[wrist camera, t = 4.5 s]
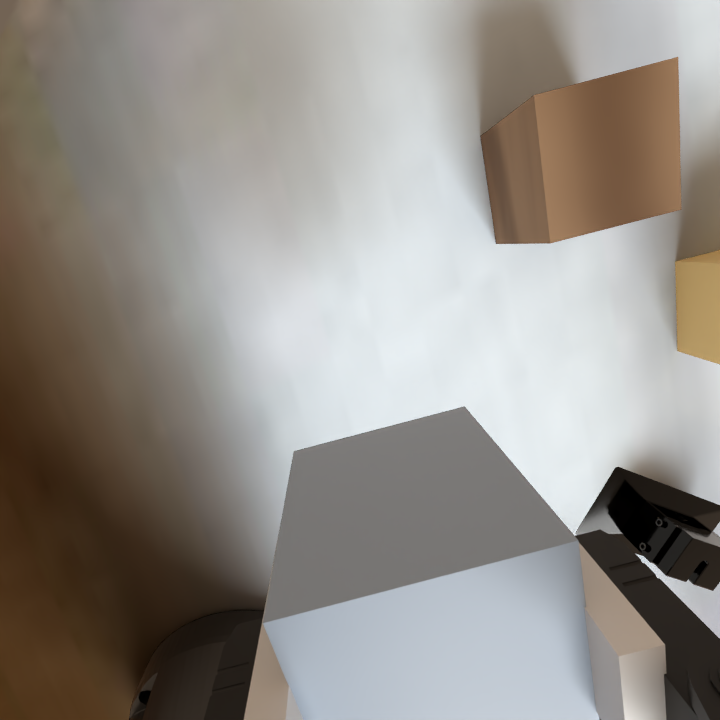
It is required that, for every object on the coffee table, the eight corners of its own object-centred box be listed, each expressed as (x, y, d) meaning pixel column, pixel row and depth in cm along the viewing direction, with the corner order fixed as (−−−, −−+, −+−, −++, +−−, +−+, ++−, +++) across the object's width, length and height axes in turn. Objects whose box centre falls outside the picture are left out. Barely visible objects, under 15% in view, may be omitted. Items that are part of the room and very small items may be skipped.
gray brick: (339, 588, 14) (345, 823, 8) (293, 451, 13) (262, 623, 7) (491, 547, 14) (603, 755, 8) (464, 406, 13) (578, 540, 7)
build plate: (548, 530, 28) (586, 582, 24) (601, 443, 27) (652, 482, 22) (689, 577, 30) (749, 633, 26) (747, 498, 29) (822, 544, 24)
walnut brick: (495, 243, 22) (550, 243, 17) (479, 136, 21) (534, 95, 15) (592, 218, 22) (681, 209, 17) (584, 109, 21) (678, 56, 15)
